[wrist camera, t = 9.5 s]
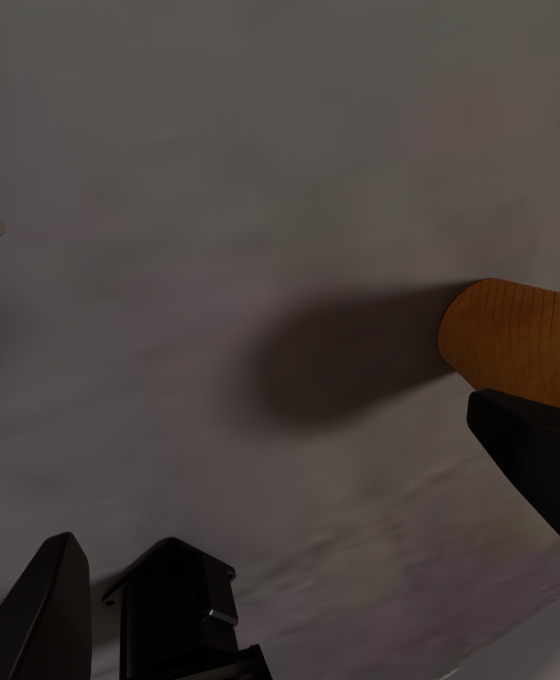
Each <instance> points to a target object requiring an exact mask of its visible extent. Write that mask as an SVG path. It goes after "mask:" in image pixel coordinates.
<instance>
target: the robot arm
mask: <svg viewBox="0 0 560 680" xmlns="http://www.w3.org/2000/svg"><path fill="white" fill-rule="evenodd" d="M467 424H468V427H469V428H470V430H471V431H472V433H473V434H474V435H475V437H476V438H477V439H478V441H479V442H480V443H481V445H482V446H483V447H484V448H485V450H486V451H487V452H488V454H489V455H490V456H491V458H492V459H493V460H494V462H495V463H496V464H497V466H498V467H499V468H500V469H501V471H502V472H503V473H504V475H505V476H506V477H507V478H508V480H509V481H510V482H511V483H512V484H513V485H514V487H515V488H516V489H517V490H518V491H519V492H520V493H521V494H522V495H523V496H524V498H525V499H526V500H527V501H528V502H529V503H530V504H531V505H532V506H533V507H534V508H535V510H536V511H537V512H538V513H539V514H540V515H541V516H542V517H543V518H544V519H545V520H546V521H547V523H548V524H549V525H550V526H551V527H552V528H553V529H554V530H555V531H556V532H557V533H558V534H559V536H560V408H558V407H554V406H551V405H547V404H544V403H540V402H537V401H533V400H530V399H526V398H523V397H519V396H515V395H512V394H508V393H505V392H501V391H498V390H494V389H491V388H483V389H480V390H477V391H474V392H472V393H471V394H470V396H469V400H468V409H467ZM235 578H236V573H235V569H234V568H233V567H231V566H229V565H227V564H225V563H223V562H221V561H219V560H218V559H216V558H214V557H212V556H210V555H208V554H206V553H204V552H202V551H200V550H198V549H196V548H195V547H193V546H191V545H189V544H187V543H185V542H183V541H181V540H179V539H171V540H169V541H167V542H166V543H165V544H164V545H163V546H161V547H160V548H159V549H158V550H157V551H155V552H154V553H153V554H152V555H151V556H150V557H148V558H147V559H146V560H145V561H144V562H142V563H141V564H140V565H139V566H138V567H137V568H135V569H134V570H133V571H132V572H131V573H129V574H128V575H127V576H126V577H125V578H124V579H122V580H121V581H120V582H119V583H118V584H116V585H115V586H114V587H113V588H112V589H110V590H109V591H108V592H107V593H106V594H105V595H104V596H103V597H102V607H104V608H106V609H109V610H112V611H115V612H117V613H120V614H121V625H120V671H119V680H273V679H272V677H271V674H270V672H269V669H268V667H267V664H266V661H265V659H264V656H263V654H262V651H261V649H260V646H259V644H255V645H251V646H249V648H247V649H243V650H239V649H238V644H237V640H236V635H235V630H234V627H236V626H237V624H238V616H237V612H236V607H235V603H234V598H233V594H232V589H231V585H230V582H232V581H233V580H234V579H235ZM91 659H92V637H91V609H90V581H89V565H88V560H87V557H86V555H85V554H84V552H83V550H82V548H81V547H80V545H79V543H78V542H77V540H76V538H75V536H74V535H73V534H72V533H71V532H64V533H61V534H58V535H55V536H52V537H49V538H48V539H46V540H45V541H44V543H43V544H42V545H41V547H40V548H39V550H38V551H37V553H36V554H35V556H34V557H33V558H32V560H31V561H30V563H29V564H28V566H27V567H26V569H25V570H24V572H23V573H22V574H21V576H20V577H19V579H18V580H17V582H16V583H15V585H14V586H13V588H12V589H11V590H10V592H9V593H8V595H7V596H6V598H5V599H4V601H3V602H2V604H1V605H0V680H90V676H91Z"/></svg>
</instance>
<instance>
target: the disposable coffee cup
mask: <svg viewBox="0 0 560 680" xmlns="http://www.w3.org/2000/svg"><path fill="white" fill-rule="evenodd" d="M438 346H439V351H440V353H441V355H442V357H443V358H444V360H445V361H446V362H448V363H449V364H450V365H451V366H452V367H453V368H454V369H455V370H456V371H457V372H458V373H459V374H460V375H461V376H462V377H463V378H464V379H465V380H466V381H467V382H468V383H469V384H470V385H471V386H472V387H473V388H474V389H475V390H476V391H477V390H480V389H483V388H491V389H494V390H498V391H501V392H505V393H508V394H512V395H515V396H519V397H523V398H526V399H530V400H533V401H537V402H540V403H544V404H547V405H551V406H554V407H558V408H560V292H555V291H552V290H546V289H542V288H537V287H532V286H529V285H523V284H520V283H514V282H511V281H506V280H503V279H498V278H492V279H485V280H482V281H479V282H477V283H475V284H473V285H472V286H470V287H468V288H467V289H466V290H464V291H463V292H462V293H461V294H460V295H459V296H458V297H457V298H456V299H455V300H454V301H453V302H452V304H451V305H450V306H449V308H448V309H447V311H446V313H445V315H444V316H443V319H442V322H441V324H440V328H439V332H438Z"/></svg>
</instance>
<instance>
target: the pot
mask: <svg viewBox="0 0 560 680" xmlns="http://www.w3.org/2000/svg"><path fill="white" fill-rule="evenodd" d="M8 229H9V227H7V226H6V225H5V224H4V223H3V222H1V221H0V236H1V235H2V234H4V233H5V232H6V231H7V230H8Z"/></svg>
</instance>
